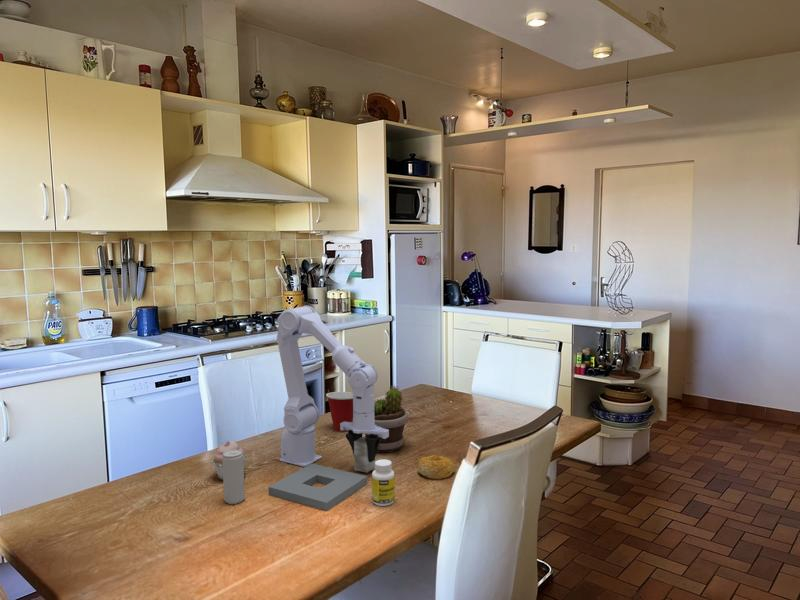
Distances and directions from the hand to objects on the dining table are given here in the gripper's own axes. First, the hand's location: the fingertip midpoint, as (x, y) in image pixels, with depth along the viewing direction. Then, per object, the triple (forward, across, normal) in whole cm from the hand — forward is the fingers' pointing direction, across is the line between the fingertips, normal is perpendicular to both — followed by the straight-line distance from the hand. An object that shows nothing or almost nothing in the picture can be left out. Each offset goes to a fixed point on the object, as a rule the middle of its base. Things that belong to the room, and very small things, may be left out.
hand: (364, 459), depth 155 cm
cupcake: (+4, -30, -20) cm, 36 cm away
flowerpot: (+3, -5, +18) cm, 19 cm away
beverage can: (+4, -18, -30) cm, 35 cm away
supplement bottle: (+3, +14, -13) cm, 19 cm away
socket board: (+3, -4, -15) cm, 16 cm away
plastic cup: (+4, -26, +26) cm, 37 cm away
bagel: (+4, +17, +9) cm, 20 cm away
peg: (+3, 0, 0) cm, 3 cm away
